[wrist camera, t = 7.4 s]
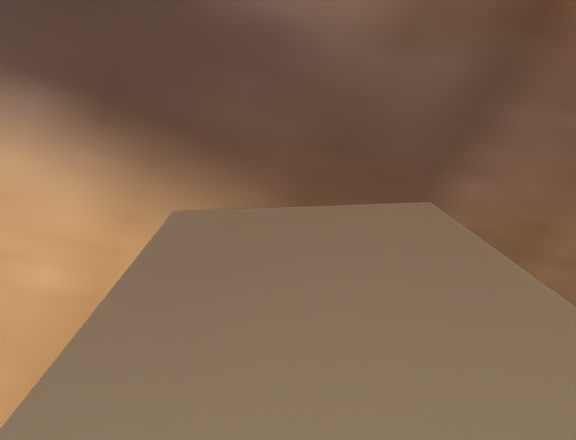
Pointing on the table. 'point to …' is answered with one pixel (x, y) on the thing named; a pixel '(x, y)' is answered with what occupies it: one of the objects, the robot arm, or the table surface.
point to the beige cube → (314, 336)
